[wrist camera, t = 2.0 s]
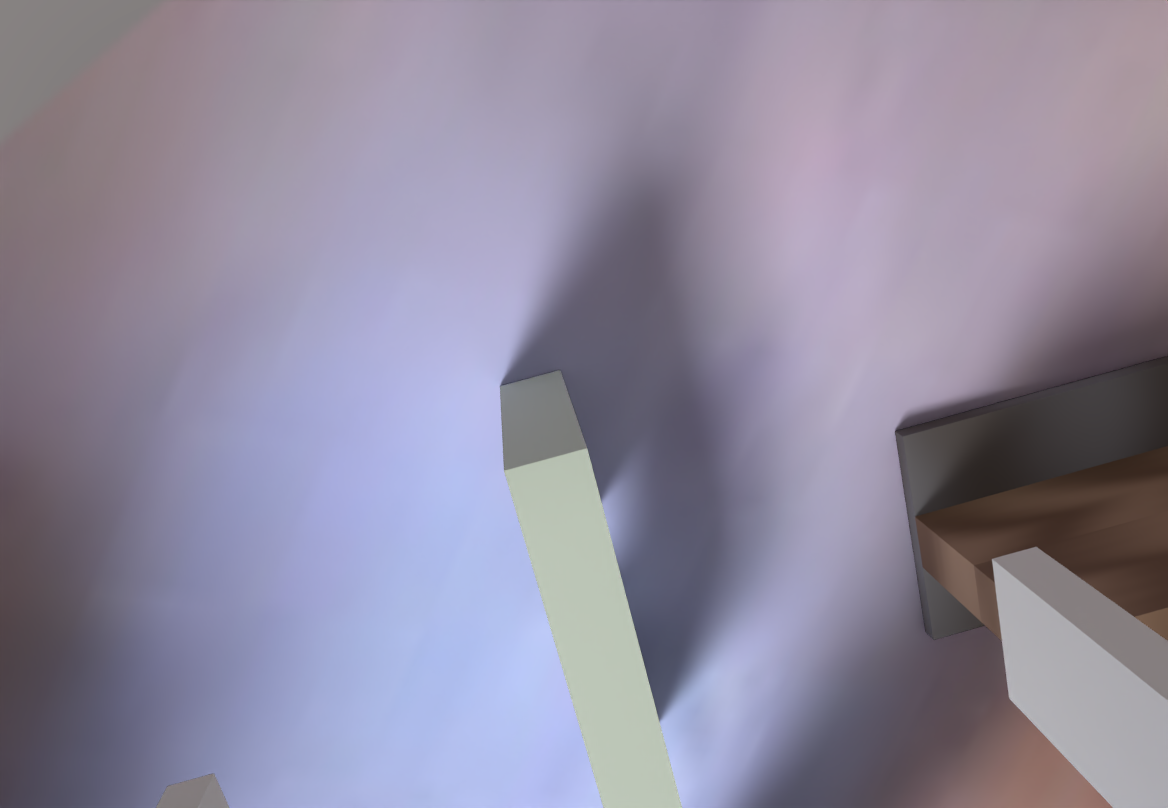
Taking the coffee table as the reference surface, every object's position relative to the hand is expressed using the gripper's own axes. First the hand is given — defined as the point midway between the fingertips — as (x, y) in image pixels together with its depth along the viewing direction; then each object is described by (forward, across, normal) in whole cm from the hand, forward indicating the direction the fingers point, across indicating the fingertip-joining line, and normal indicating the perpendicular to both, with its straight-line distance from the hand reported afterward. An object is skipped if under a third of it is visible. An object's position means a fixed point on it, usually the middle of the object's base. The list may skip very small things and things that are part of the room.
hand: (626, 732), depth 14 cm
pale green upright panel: (+15, 0, -4) cm, 16 cm away
